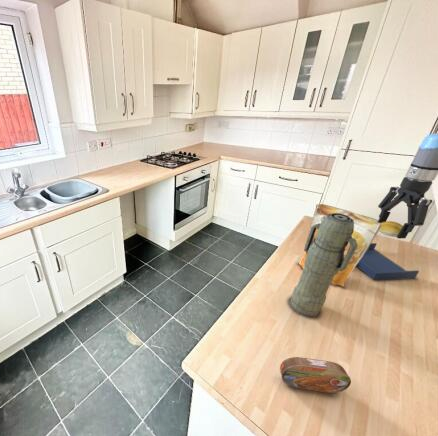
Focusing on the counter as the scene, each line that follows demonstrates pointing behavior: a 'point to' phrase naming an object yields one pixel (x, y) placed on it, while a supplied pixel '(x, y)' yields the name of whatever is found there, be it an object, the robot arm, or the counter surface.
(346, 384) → the tin
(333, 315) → the counter surface
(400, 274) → the scoop
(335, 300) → the counter surface
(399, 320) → the counter surface
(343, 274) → the pancake mix bag
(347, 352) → the counter surface
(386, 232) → the bread roll
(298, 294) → the thermos
